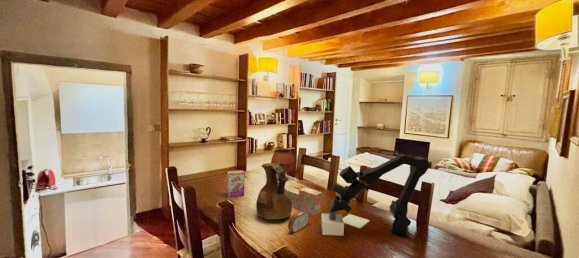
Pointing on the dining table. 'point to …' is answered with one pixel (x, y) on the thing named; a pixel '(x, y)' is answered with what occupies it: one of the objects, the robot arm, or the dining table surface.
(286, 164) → the brown clay pot
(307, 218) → the tin
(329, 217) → the lid
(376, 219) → the dining table surface
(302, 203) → the stack of blocks
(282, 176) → the ceramic pitcher
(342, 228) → the box
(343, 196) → the robot arm
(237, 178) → the candy bar box
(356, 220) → the mat
